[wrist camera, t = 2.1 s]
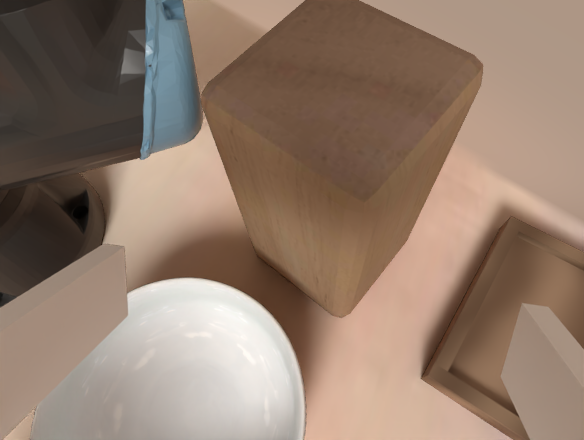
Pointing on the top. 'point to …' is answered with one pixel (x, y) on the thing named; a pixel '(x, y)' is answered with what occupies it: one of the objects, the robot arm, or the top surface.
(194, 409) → the cereal bowl
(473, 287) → the tray
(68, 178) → the robot arm
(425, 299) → the top surface
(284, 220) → the block
